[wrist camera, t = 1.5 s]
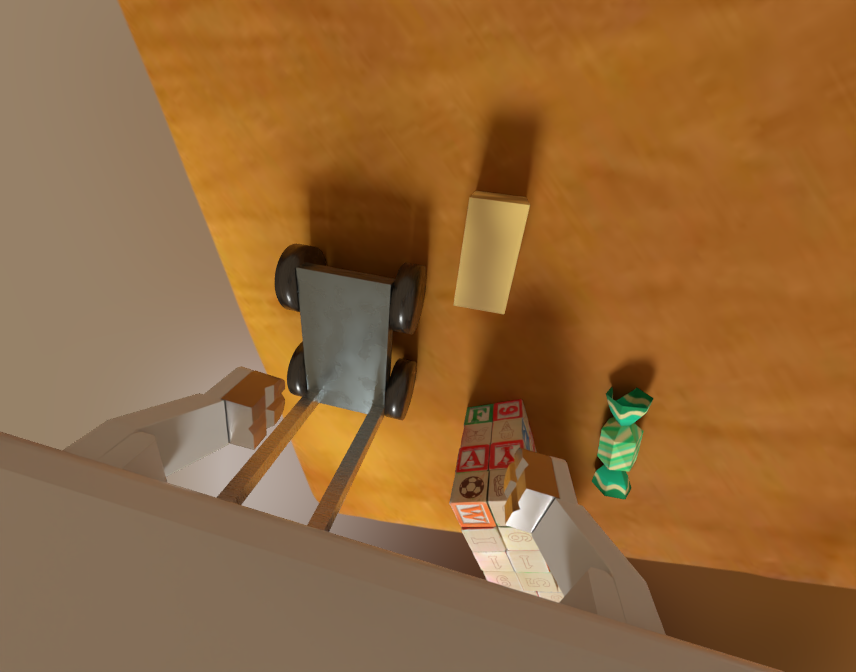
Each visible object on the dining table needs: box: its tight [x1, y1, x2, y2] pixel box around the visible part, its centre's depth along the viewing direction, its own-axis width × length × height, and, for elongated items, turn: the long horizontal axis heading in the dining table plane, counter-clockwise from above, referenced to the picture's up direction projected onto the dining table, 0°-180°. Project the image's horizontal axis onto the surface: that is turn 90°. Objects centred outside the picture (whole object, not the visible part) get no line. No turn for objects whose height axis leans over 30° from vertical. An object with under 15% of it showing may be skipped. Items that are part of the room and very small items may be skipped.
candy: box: [592, 387, 653, 499], centre depth 33 cm, size 12×3×4 cm
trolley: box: [217, 244, 426, 532], centre depth 26 cm, size 16×12×20 cm
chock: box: [454, 191, 530, 314], centre depth 26 cm, size 4×8×5 cm, turn 175°
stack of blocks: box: [450, 399, 564, 603], centre depth 35 cm, size 21×6×12 cm, turn 21°
